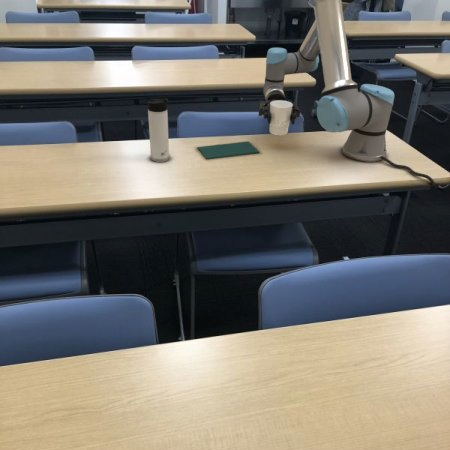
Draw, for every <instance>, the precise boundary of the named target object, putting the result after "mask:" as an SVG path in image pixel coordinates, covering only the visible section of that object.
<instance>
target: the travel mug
mask: <svg viewBox="0 0 450 450" xmlns="http://www.w3.org/2000/svg"><path fill="white" fill-rule="evenodd" d="M168 102H169V99H168V98H166V97H154V98H150V99H149V100H148V101H147V115H148V116H147V117H148V131H149V134H148V135H149V148H150V159H151V160H152V161H154V162H157V163H164V162H167V161H169V160H170V141H169V118H168V117H169V116H168V115H169V114H168Z"/></svg>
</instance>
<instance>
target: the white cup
mask: <svg viewBox="0 0 450 450" xmlns="http://www.w3.org/2000/svg"><path fill="white" fill-rule="evenodd" d="M292 106H293V104H292V102H290V101H287V100H286V101H281V100H277V101H272V102H271V103H270V113H271V123H270V124H269V127H268V129H269V133H270V134H271V135H275V136H285V135H287V134H288V133H289V127H290V124H291V120H290V118H291V112H292Z"/></svg>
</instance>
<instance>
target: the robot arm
mask: <svg viewBox="0 0 450 450" xmlns="http://www.w3.org/2000/svg"><path fill="white" fill-rule="evenodd" d="M355 1H356V0H307V3H308V5H309V6H310V7H311V8H313V11H314V18H315V20H314V22H313V23H312V26H311V27H310V29H309V31H308V33H307V34H306V35H305V38H304V40H303V42H302V44H301V45H300V47H299V49H298V50H297V51H296V52H288V50H287V49H286V48H283V47H270V48H269V49H268V50H267V54H266V60H265V76H264V78H265V79H264V85H263V87H262V90H263V91H262V93H263V96H264V99H265V101H263V100H259V101H258V116H259V117H262V116H263V117H262V118H263V119H264V120H266V119H267V124H269V125H270V123H271V113H270V103H271V102H272V101H277V100H281V101H287V98H286V95H285V92H284V84H285V77H286V75H296V74H308V73H310V72H315V71H316V70H317V69H318V67H319V63H320V60H321V66H322V73H323V81H324V88H323V90H321V98H319V100H318V101H317V106H316V117H317V121H318V123H319V125H320V126H321V127H322V128H323V129H324V130H325V131H326V132H328V133H342V132H346V131H350V133H349V135H348V137H347V138H346V141H345V142H344V144H343V147H342V153H343V155H345V156H346V157H348V158H350V159H352V160H355V161H359V162H365V163H368V162H369V163H372V162H373V163H375V162H380V161H382V160H383V161H384V162H386V163H387V164H388V165H390V166H392V167H393V168H398V169H404V170H407V171H408V172H409V173H410V174H412V175H414V176H417V177H421V178H425V179H427V180H428V181H429V182H430V184H431V186H433V187H436V182H435V180H434V179H433V178H432V177H431V176H430V175H428V174H425V173H422V172H417V171H414V170H413V169H412V168H411V167H410V166H408V165H404V164H397V163H395V162H393V161H392V160H390V159H388V158H387V157H386V156H387V142H386V141H387V140H386V134H387V129H388V125H389V122H390V118H391V114H392V109H393V107H394V101H395V93H394V91H393V90H392V89H390V88H388V87H385V86H381V85H377V84H371V83H364V84H363V83H362V84H361V85H360V88H359V89H358V83H357V82H355V81H354V80H353V79H352V73H351V64H350V57H349V56H350V55H349V49H348V43H347V34H346V27H345V19H344V14H345V12H346V10H347V9H348V7H349V5H350V4H353V3H355ZM319 55H320V57H319ZM291 103H292V104H293V106H292V112H291V118H290V124H291V125H295V120H297V118H300V117H301V109H300V107H298V104H296V103H297V102H296V101H292V102H291Z"/></svg>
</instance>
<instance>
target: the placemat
mask: <svg viewBox="0 0 450 450" xmlns="http://www.w3.org/2000/svg"><path fill="white" fill-rule="evenodd" d="M197 150H198V151H199V152H200V154H201V155H202V156H203V157H204V158H205V160H211V159H212V160H213V159H222V158H229V157H230V158H231V157H239V156H247V155H255V154H259V153H260V151H259V150H258V149H257V148H256V147H255V146H254V145H253V144H252V143H251V142H250V141H239V142H232V143H231V142H230V143H221V144H214V145H205V146H197Z"/></svg>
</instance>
